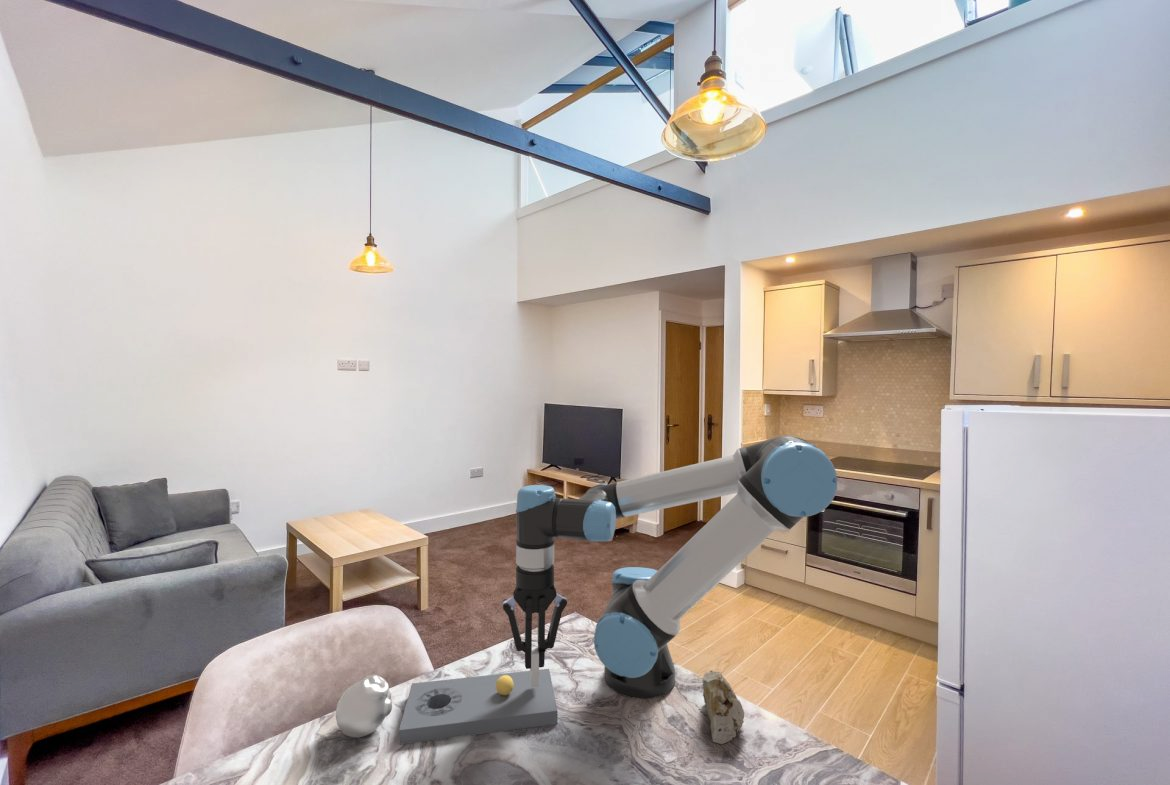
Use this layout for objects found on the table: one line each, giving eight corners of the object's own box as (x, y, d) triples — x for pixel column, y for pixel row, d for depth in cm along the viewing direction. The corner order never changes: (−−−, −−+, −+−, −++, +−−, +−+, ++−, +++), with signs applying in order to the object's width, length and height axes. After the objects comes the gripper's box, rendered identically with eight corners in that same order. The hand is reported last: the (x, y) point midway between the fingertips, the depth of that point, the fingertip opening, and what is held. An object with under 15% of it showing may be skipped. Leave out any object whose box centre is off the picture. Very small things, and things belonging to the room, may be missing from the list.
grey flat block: (549, 680, 106) (549, 668, 106) (557, 723, 92) (557, 710, 92) (412, 695, 101) (411, 683, 101) (399, 744, 87) (399, 730, 87)
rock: (752, 744, 85) (740, 678, 88) (713, 747, 86) (703, 681, 89) (741, 721, 97) (731, 664, 100) (707, 724, 97) (698, 667, 100)
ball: (514, 688, 99) (514, 671, 99) (512, 699, 96) (512, 681, 96) (497, 688, 99) (497, 671, 99) (494, 699, 96) (494, 681, 96)
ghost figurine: (372, 753, 85) (371, 695, 85) (324, 745, 87) (324, 688, 87) (402, 719, 94) (402, 666, 94) (358, 712, 96) (358, 660, 96)
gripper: (565, 556, 103) (564, 669, 103) (501, 560, 101) (501, 675, 101) (570, 569, 96) (569, 691, 96) (502, 573, 93) (501, 698, 94)
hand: (534, 682), depth 99 cm, fingers closed
